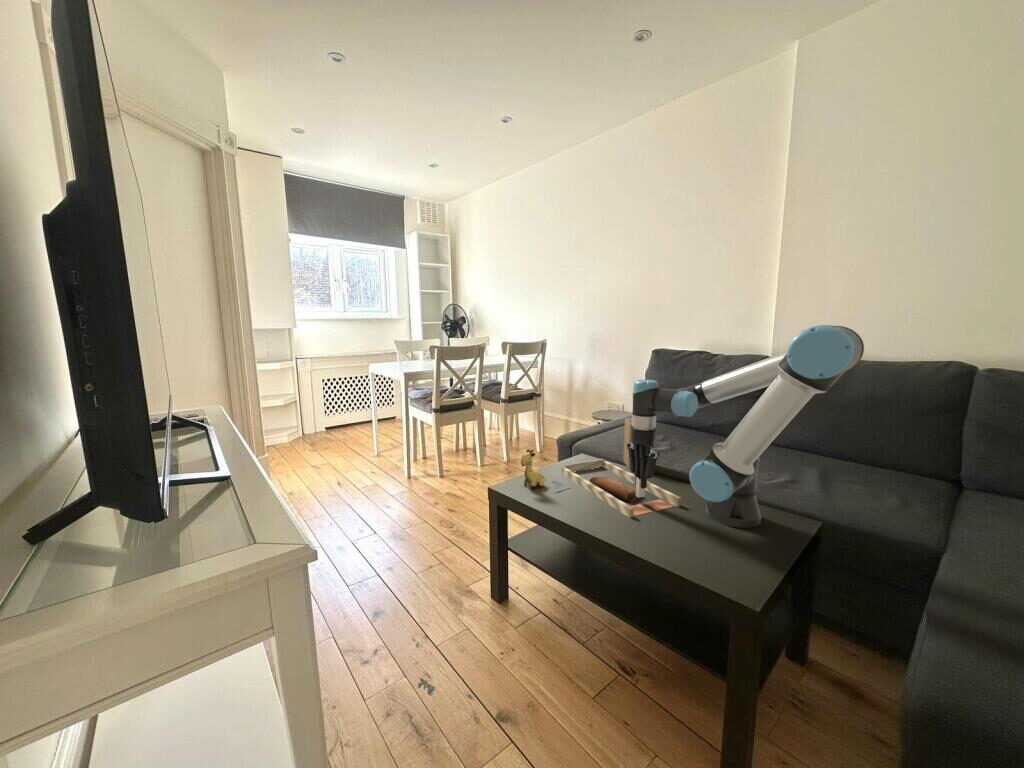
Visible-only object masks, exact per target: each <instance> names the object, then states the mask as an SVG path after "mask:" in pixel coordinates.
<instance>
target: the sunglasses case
mask: <svg viewBox="0 0 1024 768" xmlns="http://www.w3.org/2000/svg"><path fill="white" fill-rule="evenodd" d="M588 481H589V482H591V483H592V484H594V485H596V486H597V487H599V488H601V489H602V490H604V491H606V492H607V493H609V494H611V495H612V496H614V497H616V498H618V499H619V498H620V499H622V500H624V501H626V502H628V503H633V502H634V501H635V502H636V500H637V499H639V498H638V497H637V496H636V487H633V486H631V485H629V484H626V483H624V482H623V481H622V480H619V479H616V478H613V477H608V476H593V477H591V478H590V479H589V480H588Z"/></svg>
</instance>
